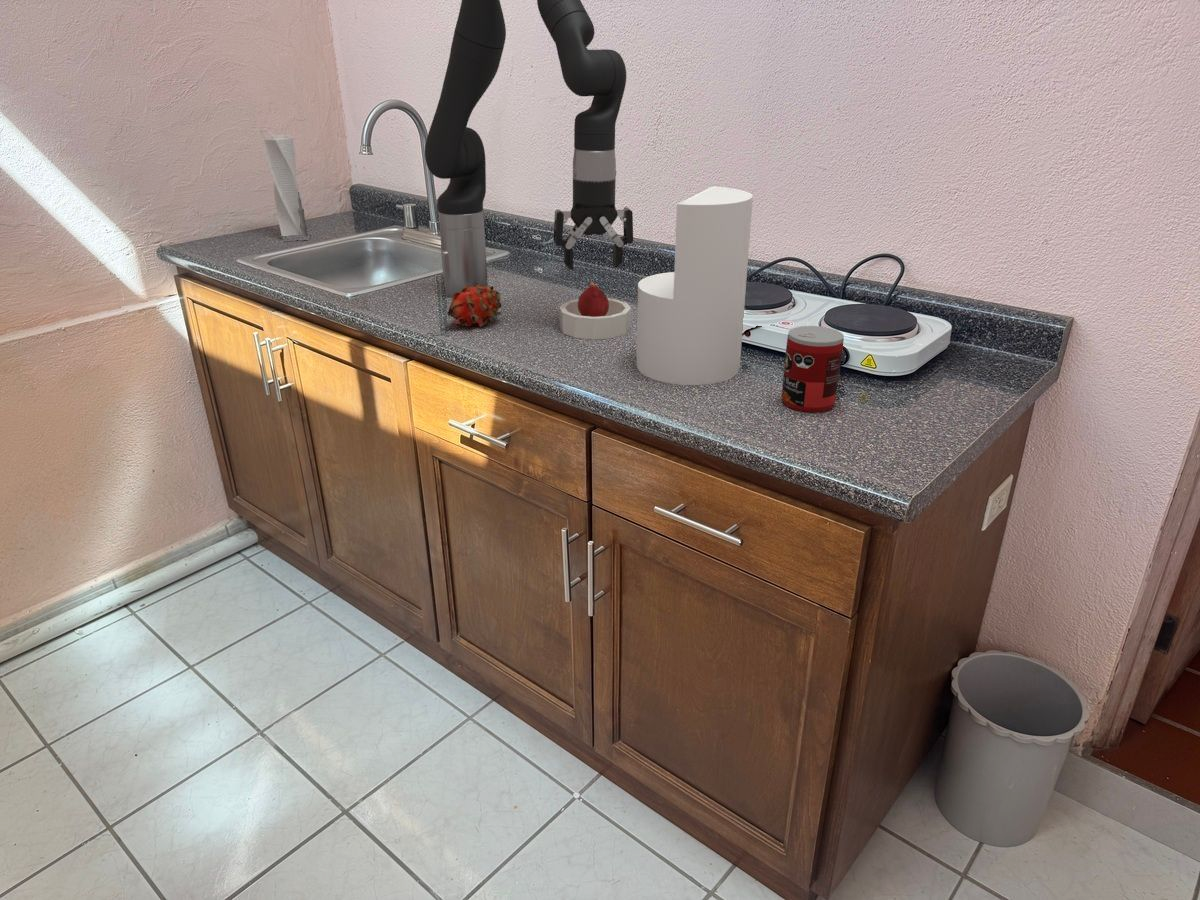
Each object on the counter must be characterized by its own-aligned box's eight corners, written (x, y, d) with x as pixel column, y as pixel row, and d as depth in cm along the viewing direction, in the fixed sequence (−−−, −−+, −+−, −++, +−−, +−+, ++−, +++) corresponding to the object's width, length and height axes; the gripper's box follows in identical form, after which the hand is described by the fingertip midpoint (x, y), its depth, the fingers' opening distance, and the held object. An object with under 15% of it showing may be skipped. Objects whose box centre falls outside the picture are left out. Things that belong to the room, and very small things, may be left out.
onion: (612, 321, 161) (612, 279, 157) (603, 330, 156) (603, 287, 152) (584, 318, 163) (583, 277, 159) (573, 327, 158) (572, 285, 154)
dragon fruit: (507, 326, 166) (456, 348, 160) (484, 294, 168) (432, 315, 162) (516, 299, 159) (462, 320, 153) (491, 266, 161) (437, 286, 155)
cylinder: (751, 356, 146) (765, 189, 133) (722, 392, 131) (734, 208, 119) (657, 343, 152) (662, 182, 139) (620, 375, 138) (622, 199, 125)
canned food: (775, 394, 131) (781, 326, 126) (825, 392, 131) (834, 324, 126) (789, 414, 124) (796, 343, 119) (842, 412, 124) (851, 341, 119)
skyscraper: (276, 242, 225) (257, 130, 213) (280, 235, 233) (261, 127, 220) (309, 240, 227) (291, 130, 214) (311, 234, 234) (295, 127, 222)
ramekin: (567, 341, 153) (567, 320, 151) (555, 320, 164) (555, 300, 162) (637, 336, 155) (637, 315, 153) (620, 315, 167) (620, 296, 165)
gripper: (628, 171, 152) (626, 261, 159) (550, 173, 149) (551, 263, 156) (639, 178, 145) (635, 271, 153) (557, 180, 142) (558, 274, 150)
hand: (593, 267), depth 154 cm, fingers open, 8 cm apart
